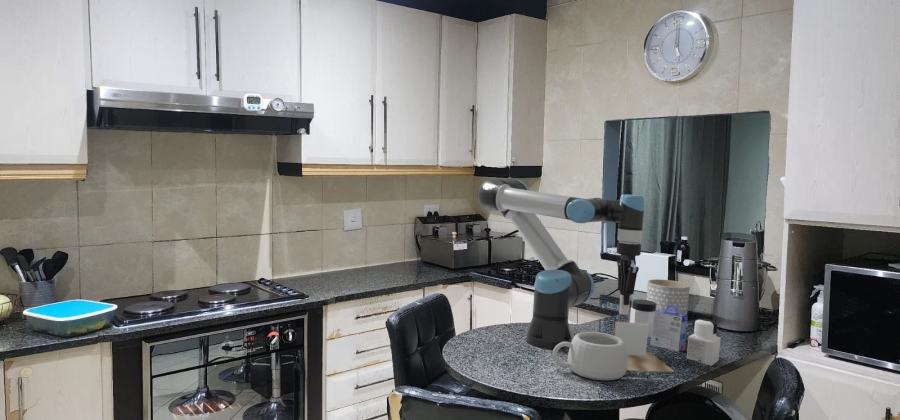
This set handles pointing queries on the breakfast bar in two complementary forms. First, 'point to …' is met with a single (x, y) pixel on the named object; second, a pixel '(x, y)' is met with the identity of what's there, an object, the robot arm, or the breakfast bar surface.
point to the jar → (643, 313)
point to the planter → (668, 294)
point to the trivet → (646, 363)
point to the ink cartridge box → (669, 329)
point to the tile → (633, 336)
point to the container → (704, 342)
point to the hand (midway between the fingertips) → (623, 313)
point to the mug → (595, 356)
